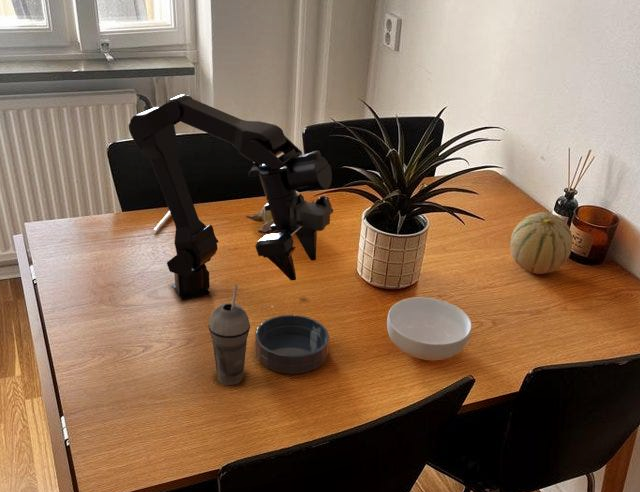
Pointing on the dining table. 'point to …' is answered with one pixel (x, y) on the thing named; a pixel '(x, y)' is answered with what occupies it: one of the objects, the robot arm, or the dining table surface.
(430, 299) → the cereal bowl
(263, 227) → the ceramic sculpture
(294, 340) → the dark gray pet bowl
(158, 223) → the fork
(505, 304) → the dining table surface
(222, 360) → the beverage cup
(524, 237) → the cantaloupe
